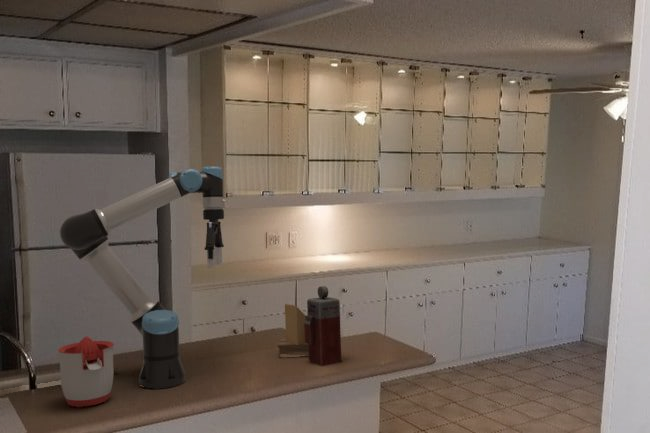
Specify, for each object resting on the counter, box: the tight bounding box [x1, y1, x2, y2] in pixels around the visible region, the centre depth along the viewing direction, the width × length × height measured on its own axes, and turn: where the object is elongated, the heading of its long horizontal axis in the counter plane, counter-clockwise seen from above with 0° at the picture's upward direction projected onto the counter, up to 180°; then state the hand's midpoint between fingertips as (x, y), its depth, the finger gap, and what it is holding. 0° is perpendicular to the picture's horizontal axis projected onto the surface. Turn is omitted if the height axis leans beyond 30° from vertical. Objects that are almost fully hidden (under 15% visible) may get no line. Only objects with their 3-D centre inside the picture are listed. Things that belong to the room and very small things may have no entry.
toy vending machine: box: [304, 285, 342, 367], centre depth 219 cm, size 9×11×28 cm
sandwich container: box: [284, 303, 306, 345], centre depth 234 cm, size 9×15×15 cm, turn 125°
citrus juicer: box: [57, 336, 114, 408], centre depth 180 cm, size 16×17×20 cm
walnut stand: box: [277, 337, 309, 356], centre depth 233 cm, size 12×19×5 cm, turn 90°
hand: (215, 266), depth 219 cm, fingers open, 13 cm apart
